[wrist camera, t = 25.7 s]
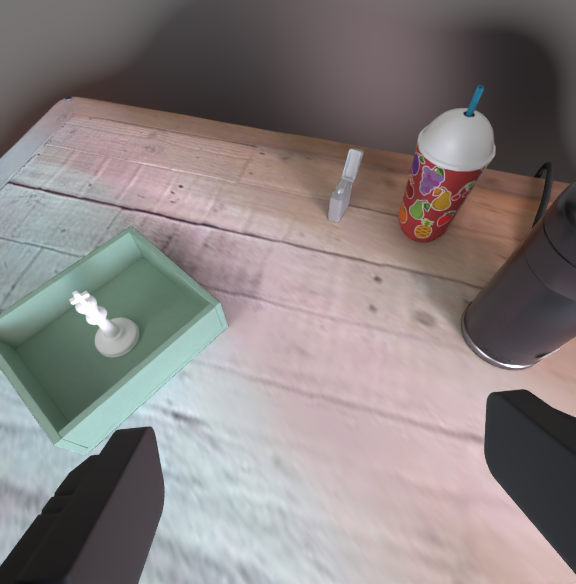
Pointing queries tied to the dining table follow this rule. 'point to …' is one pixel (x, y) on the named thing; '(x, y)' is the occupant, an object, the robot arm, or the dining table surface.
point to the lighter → (344, 186)
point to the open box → (81, 339)
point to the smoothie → (445, 170)
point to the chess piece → (107, 327)
